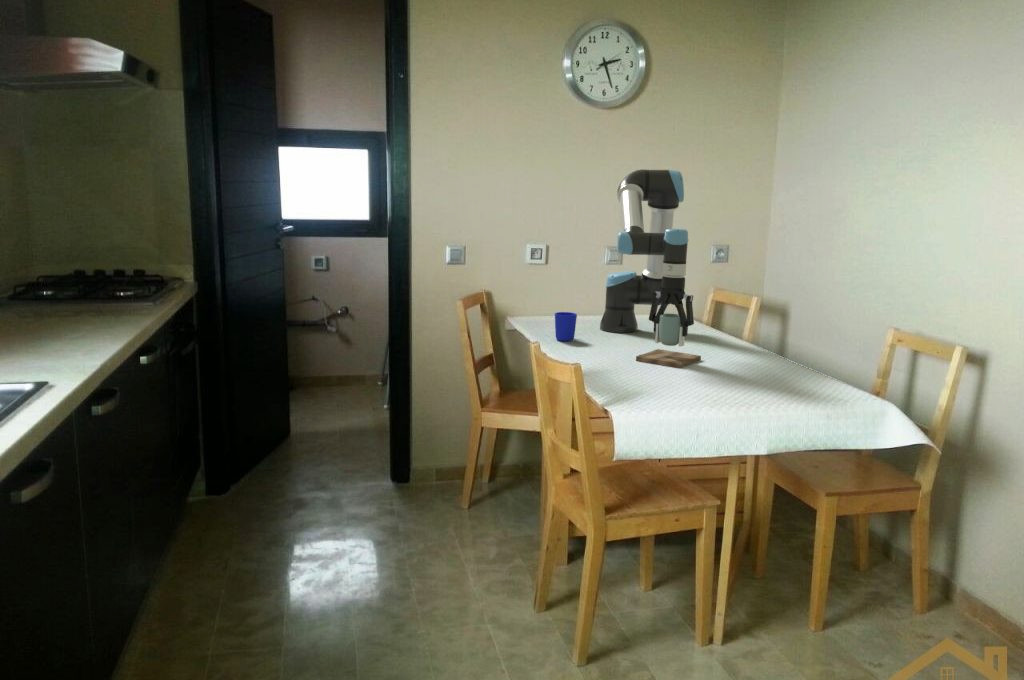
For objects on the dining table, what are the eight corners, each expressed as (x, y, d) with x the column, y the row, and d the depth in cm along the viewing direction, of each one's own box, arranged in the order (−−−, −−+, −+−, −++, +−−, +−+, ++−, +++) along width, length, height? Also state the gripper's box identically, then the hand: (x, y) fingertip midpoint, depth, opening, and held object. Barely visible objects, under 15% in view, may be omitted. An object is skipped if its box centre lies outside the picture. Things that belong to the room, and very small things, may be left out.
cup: (681, 347, 263) (683, 317, 261) (657, 346, 264) (659, 316, 263) (681, 343, 270) (683, 314, 269) (658, 341, 272) (659, 312, 270)
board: (635, 360, 267) (636, 356, 267) (657, 353, 279) (658, 348, 279) (680, 368, 258) (680, 363, 257) (700, 360, 270) (701, 355, 270)
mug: (576, 336, 306) (577, 310, 304) (575, 342, 295) (576, 316, 293) (554, 335, 307) (555, 310, 305) (553, 341, 295) (554, 315, 293)
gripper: (640, 274, 266) (636, 341, 270) (698, 279, 254) (693, 350, 258) (650, 272, 272) (646, 338, 276) (708, 278, 260) (703, 346, 264)
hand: (669, 344), depth 267 cm, fingers closed on cup, 8 cm apart
